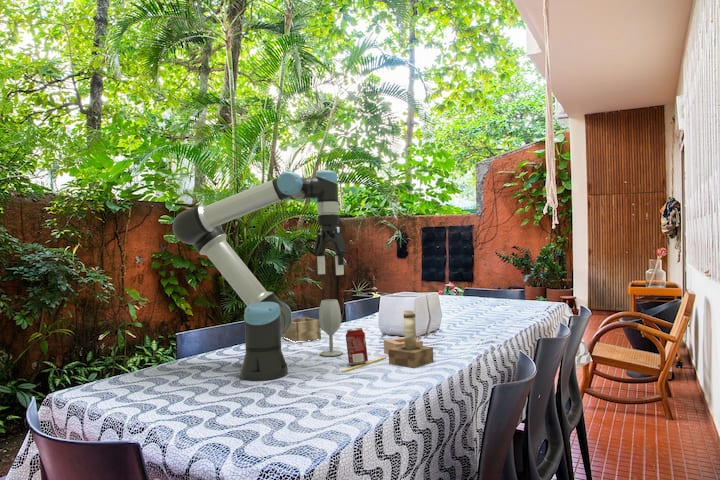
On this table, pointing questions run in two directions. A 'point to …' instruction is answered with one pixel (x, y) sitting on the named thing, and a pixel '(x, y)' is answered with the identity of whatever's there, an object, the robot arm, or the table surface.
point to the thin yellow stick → (363, 364)
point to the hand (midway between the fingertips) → (330, 274)
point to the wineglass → (330, 323)
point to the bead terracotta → (397, 343)
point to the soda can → (356, 346)
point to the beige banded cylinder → (410, 330)
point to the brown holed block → (411, 356)
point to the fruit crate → (303, 329)
